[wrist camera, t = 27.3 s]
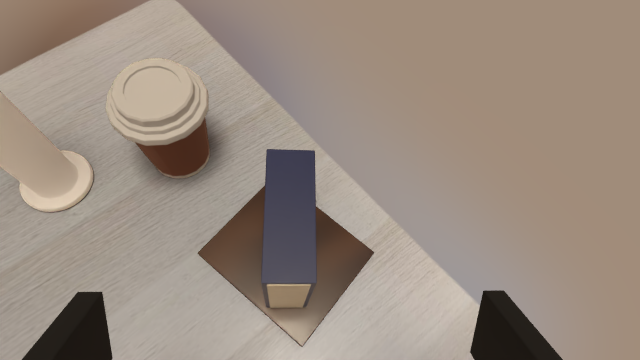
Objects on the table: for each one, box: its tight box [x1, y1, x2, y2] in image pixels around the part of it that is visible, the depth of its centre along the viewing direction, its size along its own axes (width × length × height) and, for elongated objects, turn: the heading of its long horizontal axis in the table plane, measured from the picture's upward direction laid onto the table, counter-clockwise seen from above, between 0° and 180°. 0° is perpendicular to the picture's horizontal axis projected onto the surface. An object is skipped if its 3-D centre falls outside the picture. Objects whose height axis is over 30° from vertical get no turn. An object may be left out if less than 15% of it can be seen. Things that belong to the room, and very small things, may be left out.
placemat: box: [198, 186, 374, 346], centre depth 42 cm, size 14×12×1 cm
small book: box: [261, 149, 317, 308], centre depth 36 cm, size 4×11×12 cm, turn 1°
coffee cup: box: [106, 58, 210, 179], centre depth 41 cm, size 9×9×12 cm
